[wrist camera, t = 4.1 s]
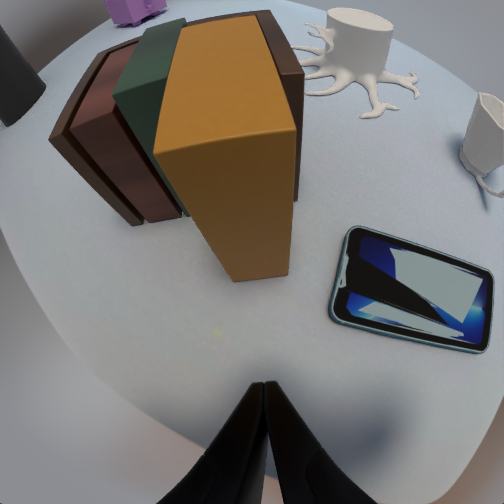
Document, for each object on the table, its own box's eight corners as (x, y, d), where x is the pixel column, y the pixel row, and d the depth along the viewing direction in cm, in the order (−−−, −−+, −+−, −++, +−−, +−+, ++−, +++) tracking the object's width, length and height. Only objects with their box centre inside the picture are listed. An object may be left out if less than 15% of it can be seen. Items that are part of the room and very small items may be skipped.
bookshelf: (297, 200, 22) (305, 56, 10) (131, 226, 23) (38, 130, 10) (276, 112, 26) (268, -1, 14) (144, 137, 27) (93, 44, 14)
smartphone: (487, 355, 15) (326, 319, 17) (480, 356, 15) (324, 321, 18) (494, 271, 17) (348, 221, 19) (488, 274, 18) (346, 226, 20)
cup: (484, 147, 22) (513, 105, 15) (506, 218, 19) (549, 179, 12) (442, 132, 23) (468, 82, 16) (463, 206, 20) (507, 156, 13)
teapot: (174, 10, 45) (162, -27, 33) (141, 27, 43) (125, -12, 31) (136, 12, 51) (124, -18, 39) (108, 28, 49) (94, -2, 37)
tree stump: (261, 46, 32) (256, 1, 24) (369, 38, 32) (375, 0, 24) (325, 127, 24) (333, 59, 17) (449, 110, 25) (470, 65, 17)
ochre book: (288, 275, 20) (297, 129, 7) (233, 282, 20) (151, 153, 7) (270, 165, 23) (255, 14, 10) (225, 171, 24) (181, 27, 10)
